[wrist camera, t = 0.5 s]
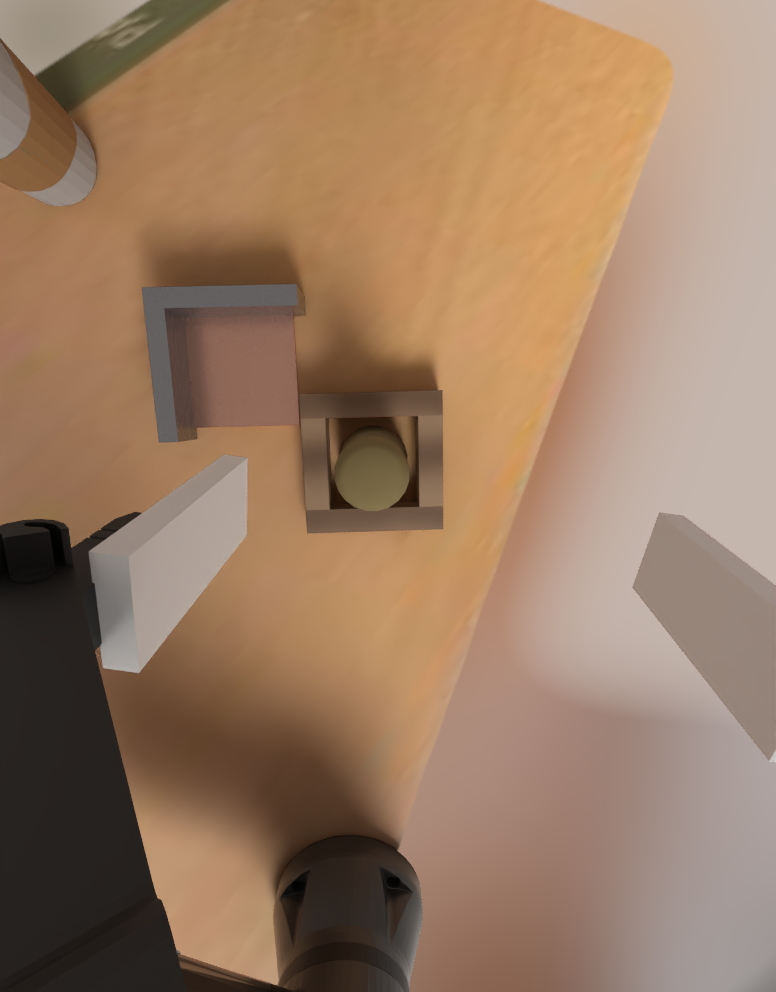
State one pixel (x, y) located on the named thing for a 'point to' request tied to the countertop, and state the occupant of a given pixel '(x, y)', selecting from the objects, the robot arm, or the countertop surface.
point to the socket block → (318, 463)
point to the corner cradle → (222, 356)
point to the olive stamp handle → (372, 469)
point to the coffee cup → (40, 140)
